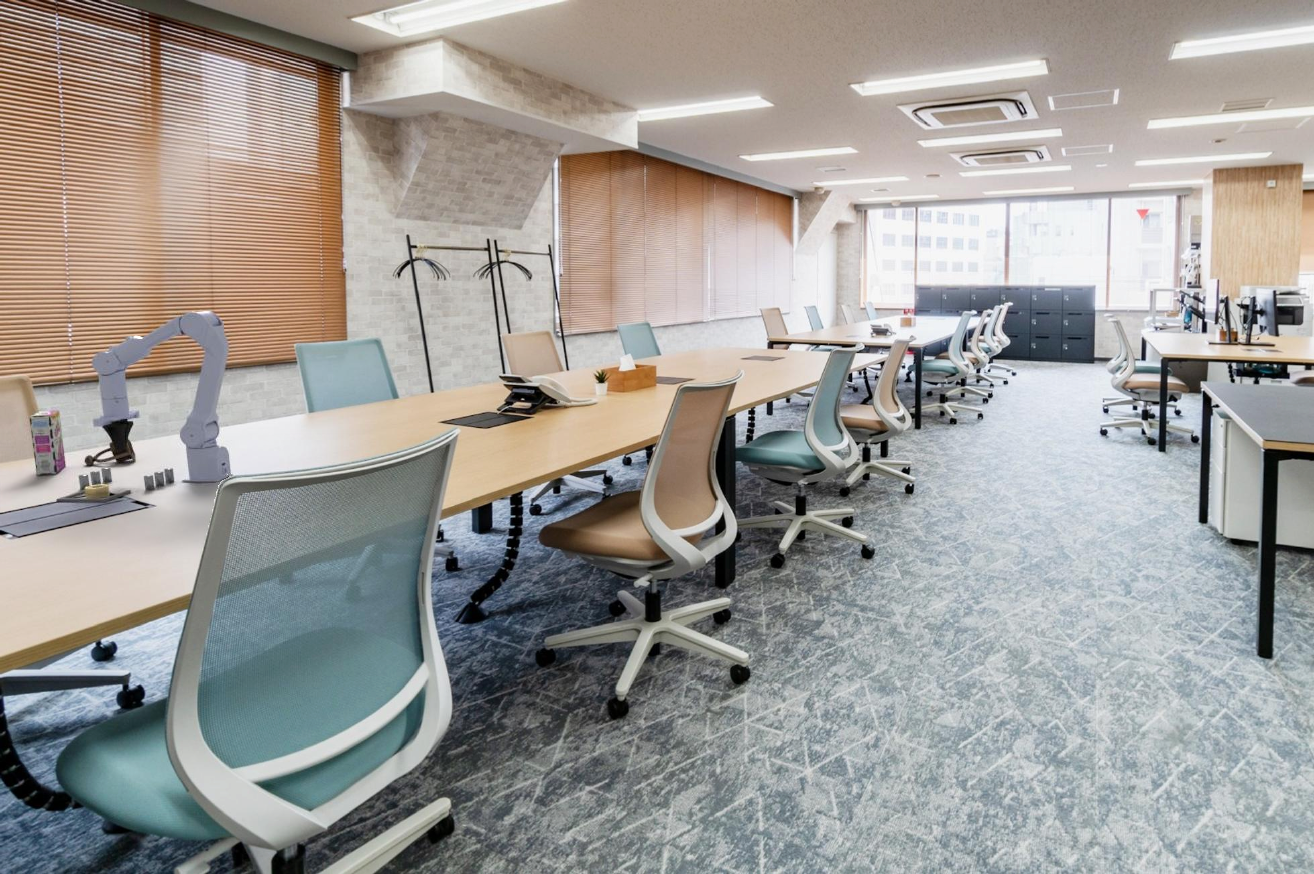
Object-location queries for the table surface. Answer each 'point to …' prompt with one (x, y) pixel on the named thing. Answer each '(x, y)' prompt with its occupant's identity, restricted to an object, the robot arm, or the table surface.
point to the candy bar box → (47, 442)
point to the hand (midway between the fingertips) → (120, 449)
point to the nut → (97, 491)
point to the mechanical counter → (117, 455)
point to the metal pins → (108, 478)
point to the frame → (71, 499)
